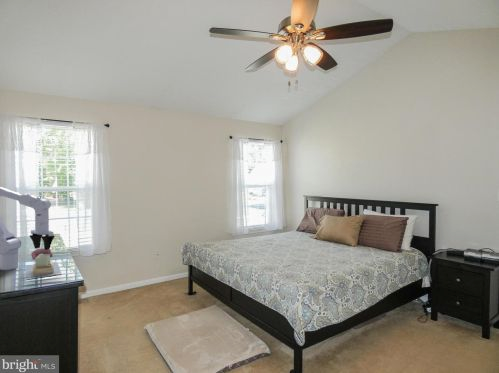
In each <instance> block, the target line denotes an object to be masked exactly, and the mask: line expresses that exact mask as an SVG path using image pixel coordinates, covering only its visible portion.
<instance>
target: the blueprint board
mask: <svg viewBox="0 0 499 373" xmlns="http://www.w3.org/2000/svg"><path fill="white" fill-rule="evenodd" d="M24 273H25V274H24V279H25V281H30V280H31V281H32V280H36V279H37V280H38V279H45V278H50V277H58V276H62V271H61V269H60V266H59V262H58V261H54V262H52V261H51V264H50V265H49V266H44V267H36V263H35V264H30V265H25V272H24Z"/></svg>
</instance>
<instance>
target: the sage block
mask: <svg viewBox="0 0 499 373" xmlns="http://www.w3.org/2000/svg"><path fill="white" fill-rule="evenodd" d="M34 262H35V264H36V267H44V266H49V265H50V264H51V263H52V261H51V257H50V254H39V255H38V256H37V257H36V258H35V259H34Z"/></svg>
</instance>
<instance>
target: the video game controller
mask: <svg viewBox="0 0 499 373" xmlns="http://www.w3.org/2000/svg"><path fill="white" fill-rule="evenodd" d="M39 254H50V258H53V256H54V255H53V253H52V251H51V248H50V249H48V250H45V249H44V247H43V248H41V247H40V248H36V249H34V250H33V251H31V254H30V255H31V258H32V260H35V258H36V257H37V256H38V255H39Z"/></svg>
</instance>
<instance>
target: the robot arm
mask: <svg viewBox="0 0 499 373" xmlns="http://www.w3.org/2000/svg"><path fill="white" fill-rule="evenodd" d="M0 197H5V198H8V199H12V200H15V201H18V203H19V204H20V205H23V206H26V207H29V208H32V209H33V210H34V218H35V219H34V222H35V224H34V229H31V230H30V235H29V238H30V239H31V241H32V243H33V246H34V250H37V249H41V241H42V242H43V248H44V249H45V250H48V249H50V250H51V245H52V242H53V241H54V238H55V237H56V236H55V235H54V231H52V230H49V229H50V226H49V225H50V224H49V223H50V218H49V217H50V215H49V214H50V213H49V209H50V208H51V205H52V204H51V201H50V200H49V199H47V198H41V197H40V196H34V195H32V193H23V194H21V193H18V192H16V191H13V190H11V189H8V188H5V187H2V186H0ZM21 240H22V239H20V238H19V237H17V236H16V235H15V234H14V233H12V232H10V231H9V230H8V228H7V226H6V225H5V223H4V221H3V220H2V218H1V217H0V270H1V271H8V270H10V271H11V270H13V269H17V268H19V249H20V248H21V247H22V241H21Z"/></svg>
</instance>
